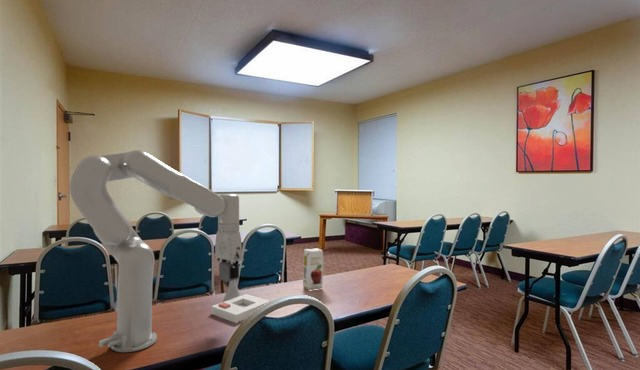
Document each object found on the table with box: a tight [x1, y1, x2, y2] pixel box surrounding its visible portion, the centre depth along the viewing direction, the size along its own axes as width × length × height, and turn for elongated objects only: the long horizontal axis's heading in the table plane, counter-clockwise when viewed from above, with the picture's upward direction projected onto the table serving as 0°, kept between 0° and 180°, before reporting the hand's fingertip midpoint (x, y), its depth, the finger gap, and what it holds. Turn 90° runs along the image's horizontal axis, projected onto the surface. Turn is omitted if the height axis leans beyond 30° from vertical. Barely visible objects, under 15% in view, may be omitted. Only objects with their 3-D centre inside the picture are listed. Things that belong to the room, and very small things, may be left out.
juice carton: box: [302, 247, 324, 291], centre depth 163 cm, size 8×9×19 cm
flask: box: [222, 279, 241, 302], centre depth 145 cm, size 7×7×10 cm
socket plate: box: [210, 293, 271, 324], centre depth 133 cm, size 18×14×4 cm
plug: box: [218, 260, 240, 283], centre depth 125 cm, size 5×5×8 cm
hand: (229, 276), depth 125 cm, fingers closed on plug, 5 cm apart
